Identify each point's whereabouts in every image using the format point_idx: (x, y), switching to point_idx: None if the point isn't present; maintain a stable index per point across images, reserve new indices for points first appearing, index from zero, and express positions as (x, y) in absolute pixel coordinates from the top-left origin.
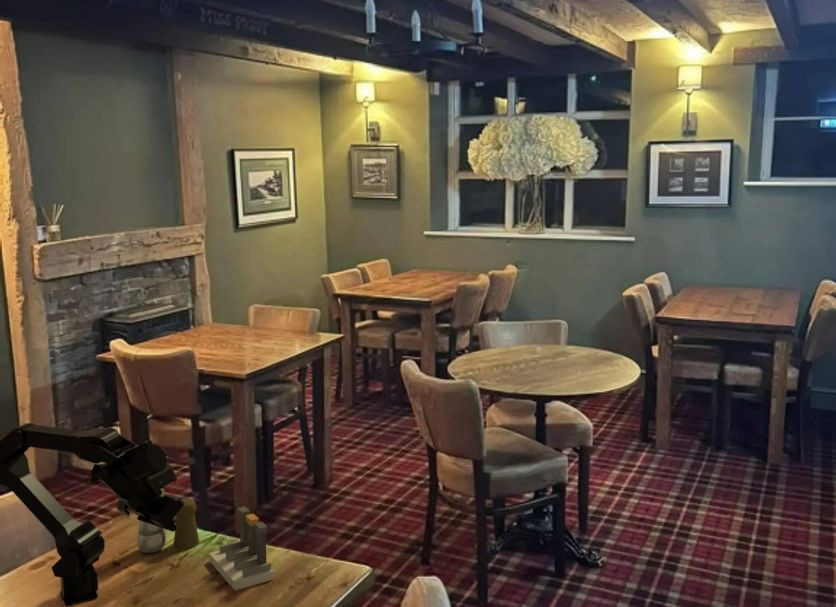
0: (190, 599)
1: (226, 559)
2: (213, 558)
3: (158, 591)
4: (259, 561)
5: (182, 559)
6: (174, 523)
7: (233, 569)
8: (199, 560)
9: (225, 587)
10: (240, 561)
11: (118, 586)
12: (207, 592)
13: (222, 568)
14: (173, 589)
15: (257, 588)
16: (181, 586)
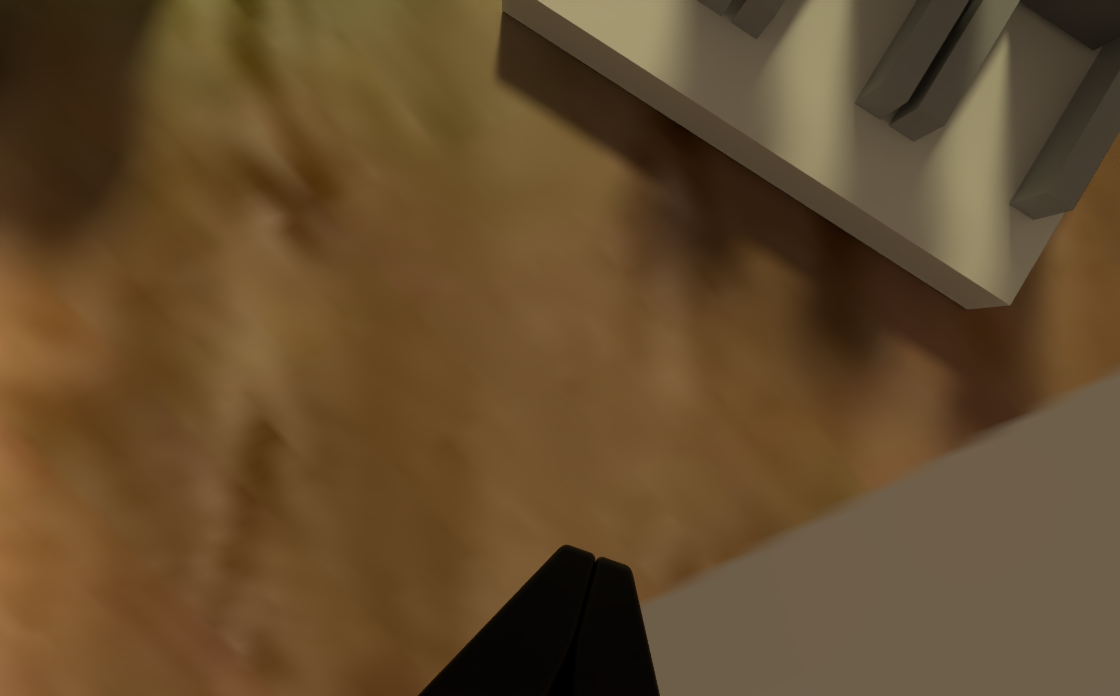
0: (757, 548)
1: (715, 16)
2: (595, 40)
3: (463, 562)
4: (1096, 7)
5: (274, 72)
6: (650, 663)
7: (876, 138)
8: (415, 29)
9: (875, 299)
10: (944, 71)
11: (119, 642)
12: (803, 415)
13: (779, 157)
14: (546, 489)
15: (1089, 214)
16: (570, 428)
